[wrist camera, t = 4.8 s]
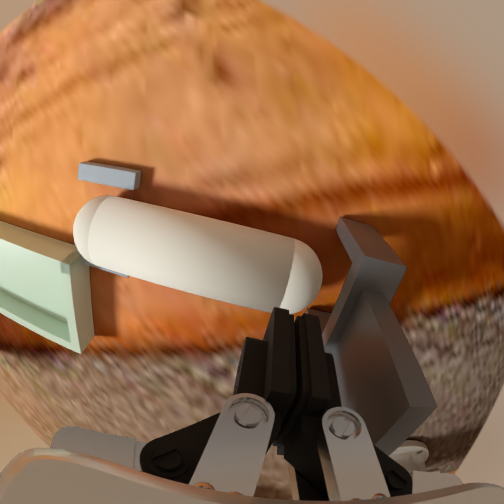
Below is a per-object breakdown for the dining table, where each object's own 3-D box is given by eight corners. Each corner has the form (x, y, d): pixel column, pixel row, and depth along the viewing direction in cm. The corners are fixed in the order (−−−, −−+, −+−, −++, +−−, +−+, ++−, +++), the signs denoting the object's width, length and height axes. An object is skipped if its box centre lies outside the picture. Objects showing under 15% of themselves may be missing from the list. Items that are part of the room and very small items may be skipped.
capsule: (327, 236, 17) (339, 268, 13) (306, 296, 18) (311, 337, 14) (98, 183, 16) (58, 199, 13) (95, 242, 18) (61, 268, 14)
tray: (88, 249, 18) (69, 264, 16) (94, 335, 21) (81, 354, 19) (-44, 204, 18) (-60, 212, 16) (-33, 272, 21) (-47, 282, 19)
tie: (372, 226, 16) (478, 369, 5) (332, 324, 18) (361, 487, 8) (340, 216, 16) (424, 365, 5) (303, 318, 18) (313, 487, 8)
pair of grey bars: (141, 170, 16) (135, 172, 15) (132, 271, 18) (127, 277, 18) (86, 161, 16) (79, 163, 15) (83, 256, 18) (77, 261, 18)
